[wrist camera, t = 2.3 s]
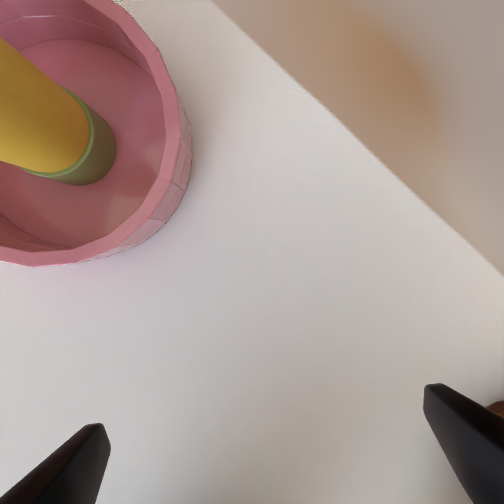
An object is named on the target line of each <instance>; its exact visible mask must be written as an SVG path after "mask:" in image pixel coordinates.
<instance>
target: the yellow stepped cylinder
mask: <svg viewBox="0 0 504 504" xmlns="http://www.w3.org/2000/svg"><path fill="white" fill-rule="evenodd" d="M115 156H116V141H115V137H114V134H113V132H112V129H111V128H110V126H109V125H108V123H107V122H106V121H105V120H104V119H103V118H102V117H101V116H100V115H99V114H98V113H97V112H95V111H94V110H93V109H92V108H91V107H90V106H88V105H87V104H86V103H85V102H84V101H83V100H82V99H80V98H79V97H78V96H77V95H76V94H74V93H73V92H72V91H70V90H69V89H67V88H65V87H63V86H61V85H58V84H57V83H56V82H54V81H53V80H52V79H51V78H50V77H48V76H47V75H46V74H45V73H44V72H42V71H41V70H40V69H39V68H38V67H36V66H35V65H34V64H33V63H32V62H30V61H29V60H28V59H27V58H26V57H24V56H23V55H22V54H21V53H20V52H18V51H17V50H16V49H15V48H14V47H12V46H11V45H10V44H9V43H8V42H6V41H5V40H4V39H3V38H2V37H0V161H3V162H6V163H10V164H13V165H16V166H19V167H20V168H21V169H23V170H25V171H27V172H29V173H31V174H34V175H37V176H41V177H45V178H48V179H52V180H55V181H59V182H62V183H66V184H69V185H79V186H81V185H88V184H91V183H94V182H96V181H98V180H100V179H101V178H102V177H104V176H105V175H106V174H107V173H108V171H109V170H110V169H111V167H112V165H113V163H114V160H115Z"/></svg>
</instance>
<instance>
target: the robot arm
mask: <svg viewBox="0 0 504 504" xmlns="http://www.w3.org/2000/svg"><path fill="white" fill-rule="evenodd" d="M423 410H424V414H425V417H426V419H427V421H428V423H429V425H430V426H431V428H432V430H433V432H434V434H435V436H436V438H437V440H438V442H439V444H440V445H441V447H442V449H443V451H444V453H445V455H446V457H447V459H448V461H449V463H450V464H451V466H452V468H453V470H454V472H455V474H456V476H457V477H458V479H459V481H460V483H461V484H462V486H463V488H464V489H465V491H466V493H467V494H468V496H469V497H470V499H471V501H472V502H473V504H504V418H503V417H501V416H499V415H498V414H496V413H494V412H492V411H491V410H489V409H487V408H485V407H483V406H482V405H480V404H478V403H476V402H475V401H473V400H471V399H469V398H467V397H466V396H464V395H462V394H460V393H459V392H457V391H455V390H453V389H451V388H450V387H448V386H446V385H444V384H442V383H436V384H428V385H426V386H425V388H424V403H423ZM110 451H111V445H110V441H109V439H108V436H107V433H106V431H105V428H104V426H103V424H101V423H95V424H88V425H86V426H84V427H83V428H82V429H80V430H79V431H78V432H77V433H76V434H74V435H73V436H72V437H71V438H70V439H69V440H67V441H66V442H65V443H64V444H63V445H62V446H60V447H59V448H58V449H57V450H56V451H54V452H53V453H52V454H51V455H50V456H49V457H47V458H46V459H45V460H44V461H43V462H42V463H40V464H39V465H38V466H37V467H36V468H34V469H33V470H32V471H31V472H30V473H29V474H27V475H26V476H25V477H24V478H23V479H22V480H20V481H19V482H18V483H17V484H16V485H15V486H13V487H12V488H11V489H10V490H9V491H7V492H6V493H5V494H4V495H3V496H2V497H0V504H95V502H96V499H97V495H98V492H99V489H100V485H101V482H102V479H103V476H104V472H105V469H106V466H107V462H108V459H109V456H110Z"/></svg>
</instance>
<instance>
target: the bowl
mask: <svg viewBox="0 0 504 504" xmlns="http://www.w3.org/2000/svg"><path fill="white" fill-rule="evenodd" d="M0 37H2V38H3V39H4V40H5V41H6V42H8V43H9V44H10V45H11V46H12V47H14V48H15V49H16V50H17V51H18V52H20V53H21V54H22V55H23V56H24V57H26V58H27V59H28V60H29V61H30V62H32V63H33V64H34V65H35V66H36V67H38V68H39V69H40V70H41V71H42V72H44V73H45V74H46V75H47V76H48V77H50V78H51V79H52V80H53V81H54V82H56V83H57V84H58V85H61V86H63V87H65V88H67V89H69V90H70V91H72V92H73V93H74V94H76V95H77V96H78V97H79V98H80V99H82V100H83V101H84V102H85V103H86V104H87V105H88V106H90V107H91V108H92V109H93V110H94V111H95V112H97V113H98V114H99V115H100V116H101V117H102V118H103V119H104V120H105V121H106V122H107V123H108V125H109V126H110V128H111V129H112V132H113V134H114V137H115V141H116V156H115V160H114V163H113V165H112V167H111V169H110V170H109V171H108V173H107V174H106V175H105V176H104V177H102V178H101V179H100V180H98V181H96V182H94V183H91V184H88V185H81V186H79V185H69V184H66V183H62V182H59V181H55V180H52V179H48V178H45V177H41V176H37V175H34V174H31V173H29V172H27V171H25V170H23V169H21V168H20V167H19V166H16V165H13V164H10V163H6V162H3V161H0V261H4V262H9V263H13V264H18V265H23V266H27V267H43V266H55V265H67V264H77V263H81V262H86V261H91V260H95V259H100V258H105V257H109V256H112V255H114V254H117V253H120V252H123V251H125V250H128V249H130V248H133V247H135V246H136V245H139V244H140V243H142V242H144V241H145V240H147V239H148V238H149V237H151V236H152V235H153V234H155V233H156V232H157V231H158V230H159V229H160V228H161V227H162V226H163V225H164V224H165V223H166V222H167V221H168V220H169V218H170V217H171V216H172V214H173V213H174V212H175V210H176V208H177V207H178V205H179V203H180V202H181V200H182V197H183V195H184V193H185V190H186V188H187V184H188V180H189V177H190V172H191V164H192V142H191V134H190V129H189V122H188V119H187V116H186V114H185V111H184V109H183V106H182V104H181V101H180V99H179V96H178V94H177V92H176V89H175V87H174V84H173V82H172V80H171V77H170V75H169V72H168V70H167V68H166V65H165V63H164V61H163V58H162V56H161V53H160V51H159V50H158V48H157V47H156V45H155V44H154V43H153V42H152V41H151V39H150V38H149V37H148V36H147V35H146V33H145V32H144V31H143V30H142V28H141V27H140V26H139V25H138V24H137V22H136V21H135V20H134V19H133V17H132V16H131V15H130V14H129V13H128V12H127V11H126V10H125V9H123V8H122V7H120V6H119V5H117V4H116V3H114V2H113V1H111V0H0Z"/></svg>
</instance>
